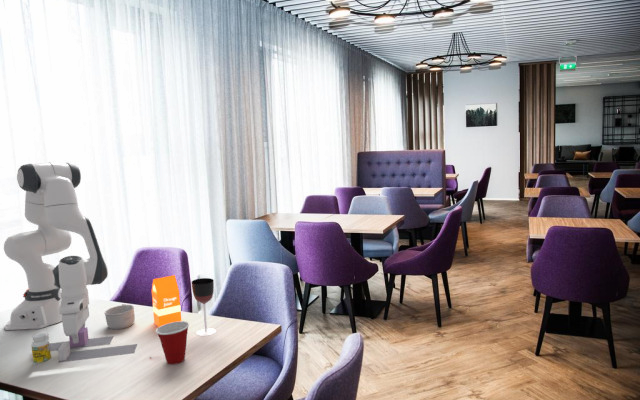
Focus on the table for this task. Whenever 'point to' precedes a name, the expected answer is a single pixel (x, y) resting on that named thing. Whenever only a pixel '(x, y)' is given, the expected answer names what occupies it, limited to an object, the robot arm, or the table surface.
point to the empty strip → (92, 352)
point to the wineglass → (203, 299)
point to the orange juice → (166, 300)
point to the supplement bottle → (40, 348)
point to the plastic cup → (173, 340)
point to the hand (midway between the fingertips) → (79, 338)
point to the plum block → (80, 338)
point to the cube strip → (89, 344)
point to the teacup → (120, 316)
